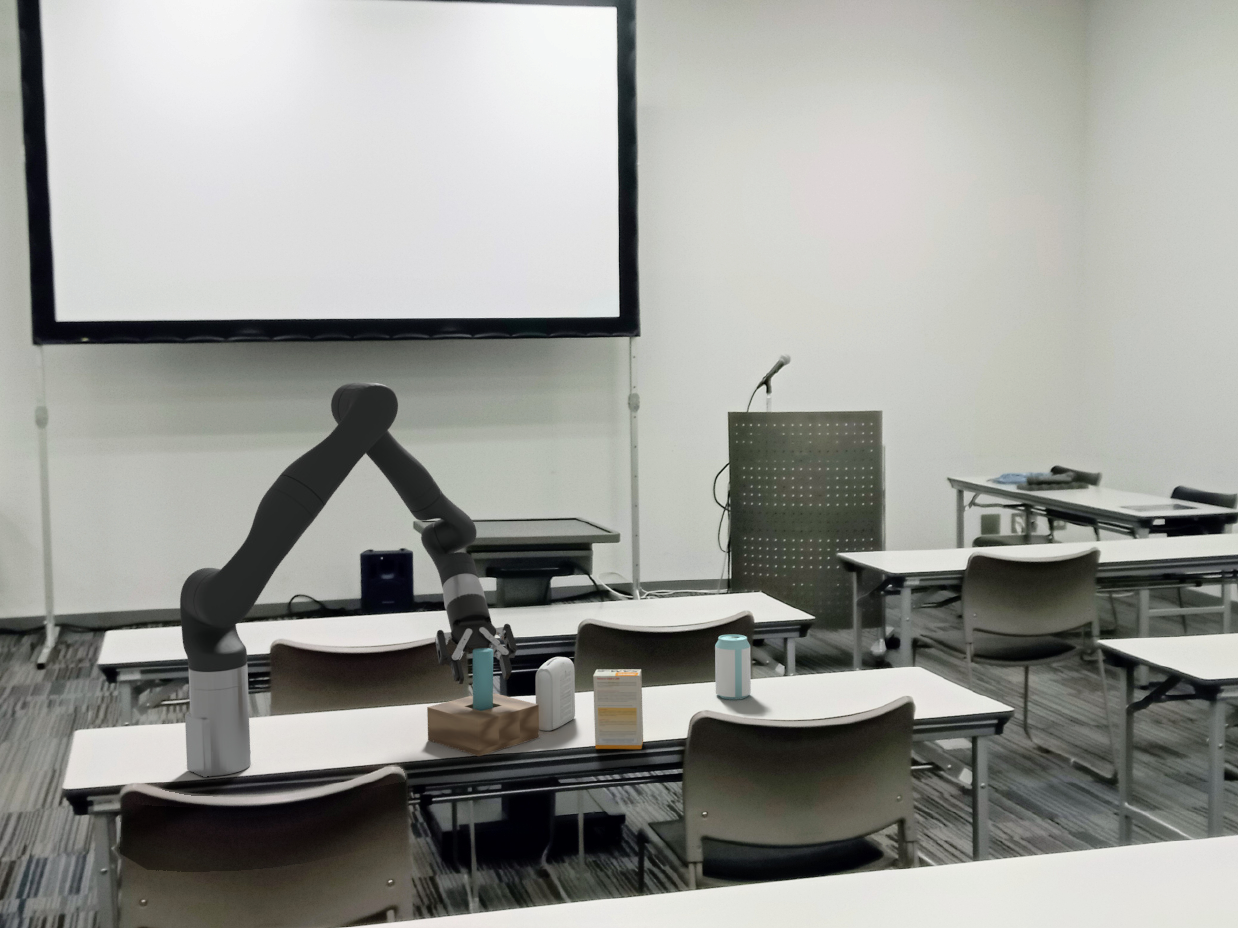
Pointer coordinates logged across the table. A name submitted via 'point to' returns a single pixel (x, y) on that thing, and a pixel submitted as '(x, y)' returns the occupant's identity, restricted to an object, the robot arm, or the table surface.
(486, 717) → the socket block
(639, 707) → the supplement box
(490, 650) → the pin
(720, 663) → the can
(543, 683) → the photo printer
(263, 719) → the table surface
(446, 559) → the robot arm
